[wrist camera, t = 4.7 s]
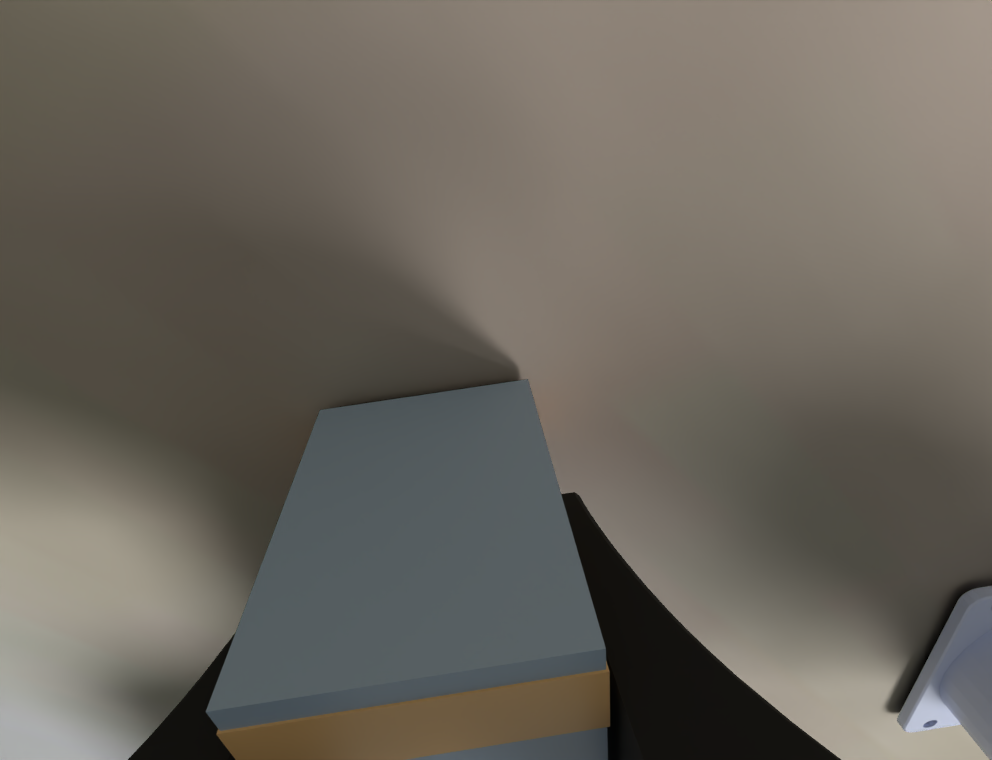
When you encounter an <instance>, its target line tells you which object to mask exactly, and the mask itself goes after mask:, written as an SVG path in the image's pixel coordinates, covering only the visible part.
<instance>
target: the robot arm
mask: <svg viewBox="0 0 992 760" xmlns="http://www.w3.org/2000/svg"><path fill="white" fill-rule="evenodd" d="M561 495H562V499H563V502H564V506H565V509H566V513H567V516H568V520H569V523H570V527H571V530H572V533H573V537H574V540H575V544H576V547H577V551H578V554H579V558H580V561H581V564H582V568H583V571H584V575H585V578H586V582H587V585H588V589H589V592H590V596H591V599H592V602H593V606H594V609H595V613H596V616H597V620H598V623H599V627H600V630H601V634H602V637H603V640H604V644H605V647H606V661H607V664H608V668H609V671H610V727H607V742H608V760H841V759H840V758H838V757H837V756H836V755H834V754H833V753H832V752H830V751H829V750H828V749H826V748H825V747H824V746H822V745H821V744H820V743H819V742H817V741H816V740H815V739H813V738H812V737H811V736H809V735H808V734H807V733H805V732H804V731H803V730H802V729H800V728H799V727H798V726H796V725H795V724H794V723H792V722H791V721H790V720H789V719H788V718H786V717H785V716H784V715H783V714H782V713H780V712H779V711H778V710H777V709H776V708H774V707H773V706H772V705H771V704H770V703H768V702H767V701H766V700H765V699H764V698H762V697H761V696H760V695H759V694H758V693H756V692H755V691H754V690H753V689H752V688H750V687H749V686H748V685H747V684H746V683H744V682H743V681H742V680H741V679H740V678H738V677H737V676H736V675H735V674H734V673H733V672H732V671H731V670H729V669H728V668H727V667H726V666H725V665H724V664H723V663H722V662H721V661H720V660H718V659H717V658H716V657H715V656H714V655H713V654H712V653H711V652H710V651H709V650H708V649H707V648H705V647H704V646H703V645H702V644H701V643H700V642H699V641H698V640H697V639H696V638H695V637H694V636H693V635H692V634H691V633H690V632H689V631H688V630H687V629H686V628H685V627H684V626H683V625H682V624H681V623H680V622H679V621H678V620H677V619H676V618H675V617H674V616H673V615H672V614H671V613H670V612H669V611H668V610H667V608H666V607H665V606H664V605H663V604H662V603H661V602H660V601H659V600H658V599H657V598H656V596H655V595H654V594H653V593H652V592H651V591H650V590H649V589H648V588H647V586H646V585H645V584H644V583H643V582H642V581H641V579H640V578H639V577H638V576H637V575H636V574H635V572H634V571H633V570H632V569H631V567H630V566H629V565H628V564H627V563H626V561H625V560H624V559H623V558H622V556H621V555H620V554H619V553H618V552H617V550H616V549H615V548H614V546H613V545H612V544H611V542H610V541H609V540H608V538H607V537H606V536H605V534H604V533H603V531H602V530H601V529H600V527H599V526H598V524H597V523H596V522H595V520H594V519H593V517H592V516H591V514H590V513H589V511H588V509H587V508H586V506H585V505H584V503H583V501H582V499H581V498H580V496H579V495H577V494H576V493H574V492H573V493H566V494H561ZM234 636H235V634H234V635H233V637H232V638H231V639H230V641H229V642H228V643H227V644H226V646H225V647H224V648H223V649H222V651H221V652H220V653H219V655H218V656H217V657H216V658H215V660H214V661H213V662H212V664H211V665H210V666H209V667H208V669H207V670H206V671H205V673H204V674H203V675H202V676H201V678H200V679H199V680H198V681H197V682H196V684H195V685H194V686H193V687H192V688H191V690H190V691H189V692H188V693H187V694H186V696H185V697H184V698H183V699H182V700H181V702H180V703H179V704H178V705H177V706H176V707H175V709H174V710H173V711H172V712H171V713H170V714H169V715H168V717H167V718H166V719H165V720H164V721H163V722H162V723H161V724H160V726H159V727H158V728H157V729H156V730H155V731H154V732H153V733H152V735H151V736H150V737H149V738H148V739H147V740H146V741H145V742H144V743H143V744H142V745H141V746H140V747H139V748H138V750H137V751H136V752H135V753H134V754H133V755H132V756H131V757H130V758H129V759H128V760H235V758H234V757H233V756H232V754H231V753H230V752H229V750H228V749H227V748H226V746H225V745H224V744H223V742H222V741H221V740H220V739H219V737H218V736H217V735H216V734H217V731H218V728H217V726H216V725H215V724H214V722H213V721H212V720H211V718H210V717H209V716H208V714H207V713H206V710H207V707H208V704H209V702H210V699H211V697H212V694H213V691H214V689H215V686H216V683H217V681H218V678H219V675H220V673H221V670H222V667H223V665H224V662H225V660H226V657H227V654H228V652H229V649H230V646H231V644H232V641H233V638H234ZM897 721H898V723H899V724H900V726H901V727H902V728H903V730H904V731H906V732H918V731H924V730H930V729H936V728H942V727H948V726H954V725H962V726H963V727H964V729H965V730H966V731H967V732H968V734H969V735H970V736H971V737H972V738H973V740H974V741H975V742H976V743H977V745H978V746H979V747H980V748H981V750H982V751H983V752H984V753H985V754H986V756H987V757H988V758H989V759H990V760H992V586H986V587H980V588H975V589H971V590H969V591H967V592H966V593H964V594H963V595H962V596H961V597H960V598H959V599H958V601H957V603H956V605H955V607H954V609H953V611H952V613H951V615H950V617H949V619H948V621H947V622H946V624H945V626H944V628H943V630H942V632H941V634H940V636H939V638H938V640H937V642H936V644H935V646H934V648H933V649H932V651H931V653H930V655H929V657H928V659H927V661H926V663H925V665H924V667H923V669H922V671H921V673H920V675H919V676H918V678H917V680H916V682H915V684H914V686H913V688H912V690H911V692H910V694H909V696H908V698H907V700H906V702H905V703H904V705H903V707H902V709H901V711H900V713H899V715H898V718H897Z"/></svg>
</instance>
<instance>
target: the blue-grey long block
mask: <svg viewBox="0 0 992 760" xmlns="http://www.w3.org/2000/svg"><path fill="white" fill-rule="evenodd" d="M206 713H207V714H208V716H209V717H210V718H211V720H212V721H213V722H214V724H215V725H216V726H217V728H218V731H217V734H216V735H217V736H218V737H219V739H220V740H221V741H222V742H223V744H224V745H225V746H226V748H227V749H228V750H229V752H230V753H231V754H232V756H233V757H234V758H235V760H608V742H607V727H610V671H609V668H608V664H607V661H606V647H605V644H604V640H603V637H602V634H601V630H600V627H599V623H598V620H597V616H596V613H595V609H594V606H593V602H592V599H591V596H590V592H589V589H588V585H587V582H586V578H585V575H584V571H583V568H582V564H581V561H580V558H579V554H578V551H577V547H576V544H575V540H574V537H573V533H572V530H571V527H570V523H569V520H568V516H567V513H566V509H565V506H564V502H563V499H562V495H561V492H560V489H559V485H558V482H557V478H556V475H555V471H554V468H553V464H552V461H551V457H550V454H549V451H548V447H547V444H546V440H545V437H544V433H543V430H542V426H541V423H540V419H539V416H538V413H537V409H536V406H535V402H534V399H533V395H532V392H531V388H530V385H529V381H528V379H526V380H519V381H513V382H506V383H499V384H492V385H486V386H479V387H472V388H465V389H459V390H452V391H445V392H439V393H432V394H425V395H418V396H412V397H405V398H398V399H391V400H385V401H378V402H371V403H364V404H358V405H351V406H344V407H337V408H331V409H324V410H320V411H319V414H318V416H317V419H316V422H315V424H314V427H313V430H312V432H311V435H310V438H309V440H308V443H307V446H306V448H305V451H304V453H303V456H302V459H301V461H300V464H299V467H298V469H297V472H296V475H295V477H294V480H293V483H292V485H291V488H290V490H289V493H288V496H287V498H286V501H285V504H284V506H283V509H282V512H281V514H280V517H279V520H278V522H277V525H276V527H275V530H274V533H273V535H272V538H271V541H270V543H269V546H268V549H267V551H266V554H265V557H264V559H263V562H262V564H261V567H260V570H259V572H258V575H257V578H256V580H255V583H254V586H253V588H252V591H251V593H250V596H249V599H248V601H247V604H246V607H245V609H244V612H243V615H242V617H241V620H240V623H239V625H238V628H237V630H236V633H235V636H234V638H233V641H232V644H231V646H230V649H229V652H228V654H227V657H226V660H225V662H224V665H223V667H222V670H221V673H220V675H219V678H218V681H217V683H216V686H215V689H214V691H213V694H212V697H211V699H210V702H209V704H208V707H207V710H206Z"/></svg>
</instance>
